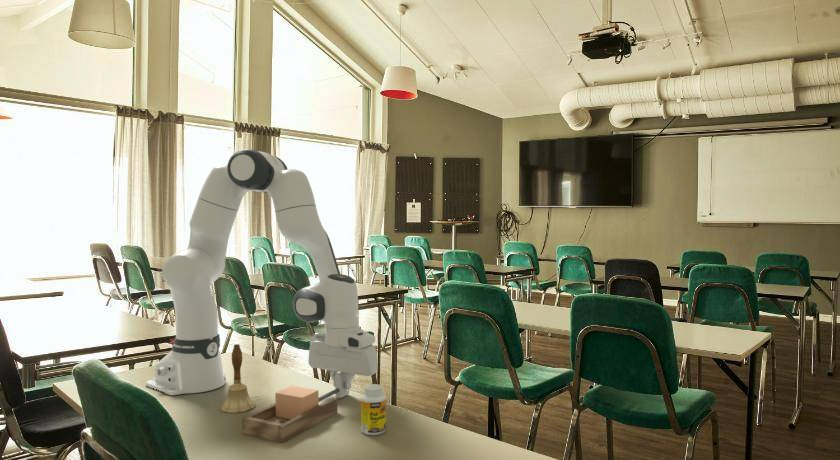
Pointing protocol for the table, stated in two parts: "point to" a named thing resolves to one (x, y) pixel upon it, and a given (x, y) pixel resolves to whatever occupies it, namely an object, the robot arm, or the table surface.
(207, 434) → the table surface
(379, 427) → the supplement bottle
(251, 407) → the hand bell
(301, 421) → the shelf lane
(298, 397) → the pull block
